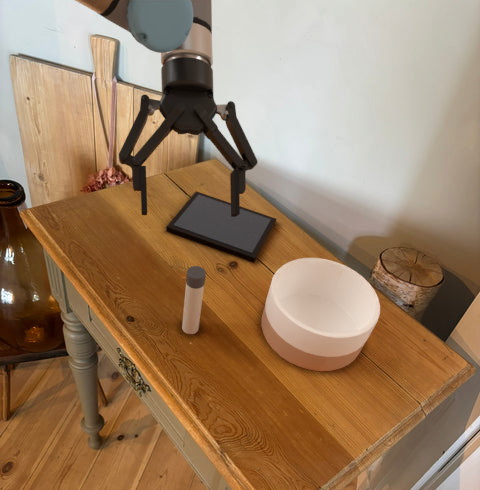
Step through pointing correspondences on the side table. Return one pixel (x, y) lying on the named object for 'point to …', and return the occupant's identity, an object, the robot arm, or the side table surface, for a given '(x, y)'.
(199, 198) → the tablet
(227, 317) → the side table surface
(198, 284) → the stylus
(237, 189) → the robot arm
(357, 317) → the bowl
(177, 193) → the side table surface
